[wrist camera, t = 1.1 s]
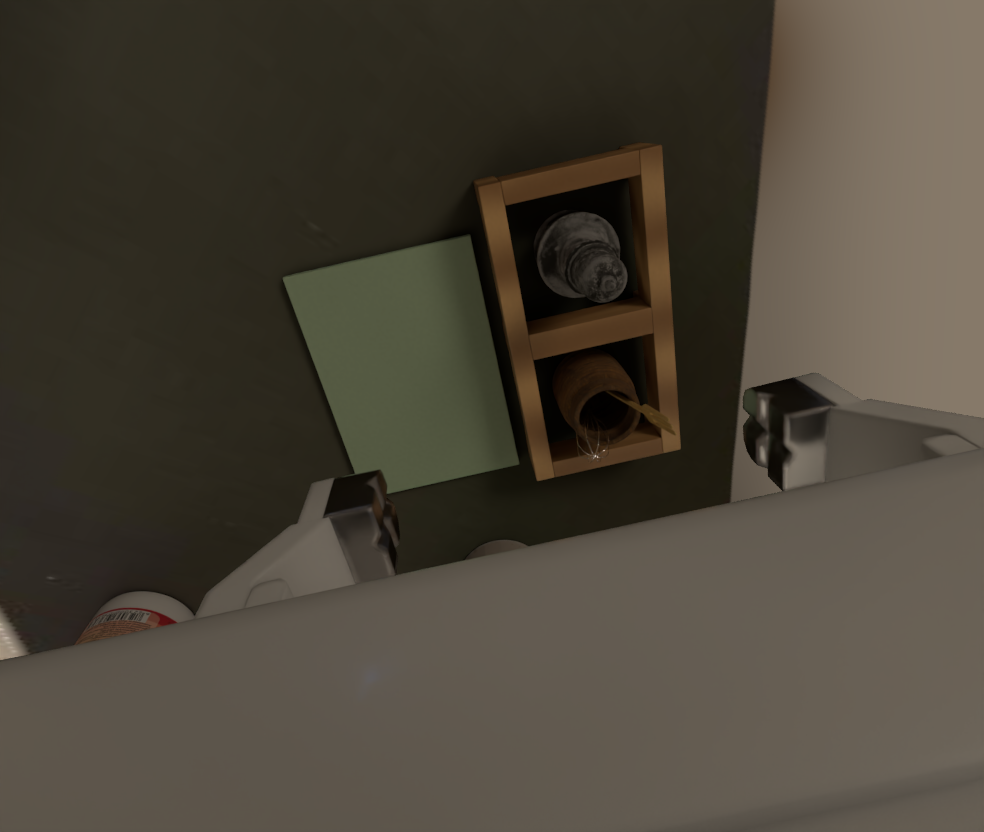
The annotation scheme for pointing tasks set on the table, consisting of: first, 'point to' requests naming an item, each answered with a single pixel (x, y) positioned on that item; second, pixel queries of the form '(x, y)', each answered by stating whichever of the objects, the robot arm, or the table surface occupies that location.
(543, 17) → the table surface
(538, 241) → the dark grey upright figure
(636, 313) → the rack
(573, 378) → the utensil holder
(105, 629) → the fruit juice
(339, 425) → the mat
